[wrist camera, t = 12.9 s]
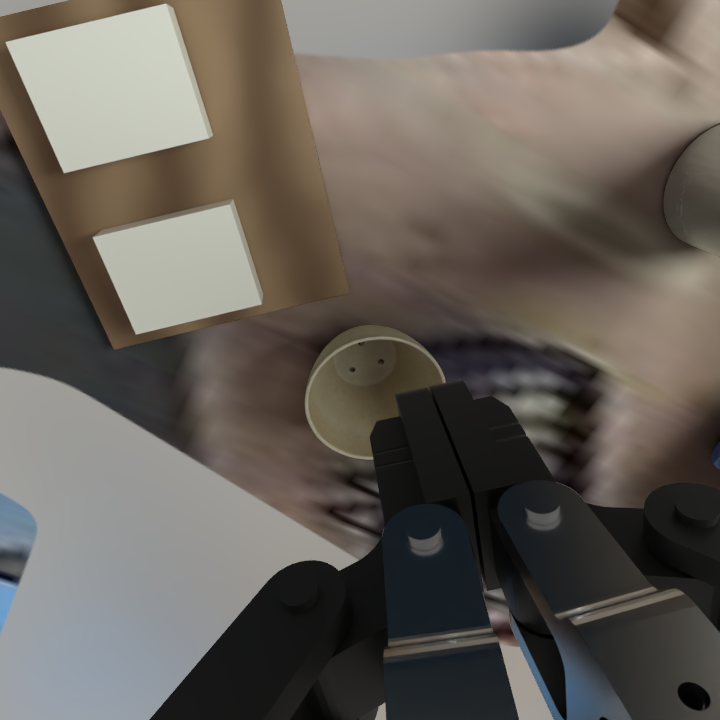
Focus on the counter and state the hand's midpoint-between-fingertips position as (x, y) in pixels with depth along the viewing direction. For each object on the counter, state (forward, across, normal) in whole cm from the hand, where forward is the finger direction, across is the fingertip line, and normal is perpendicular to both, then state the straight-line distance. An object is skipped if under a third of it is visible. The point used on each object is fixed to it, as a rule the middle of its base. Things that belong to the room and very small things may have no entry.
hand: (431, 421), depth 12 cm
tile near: (+27, +8, -9) cm, 30 cm away
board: (+29, +10, -3) cm, 31 cm away
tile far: (+27, +8, +2) cm, 28 cm away
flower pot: (+30, +1, +13) cm, 33 cm away
